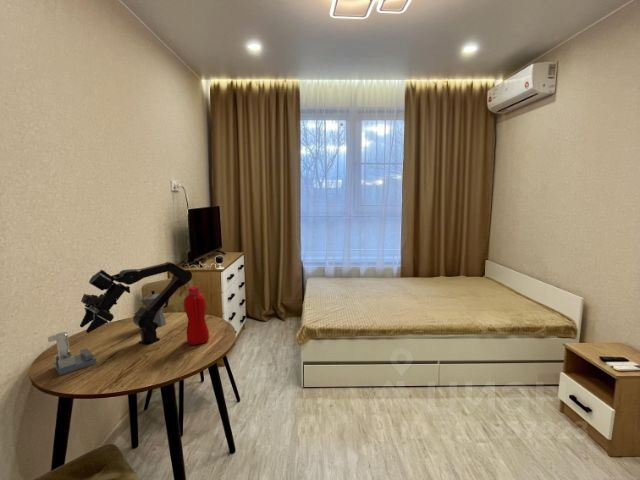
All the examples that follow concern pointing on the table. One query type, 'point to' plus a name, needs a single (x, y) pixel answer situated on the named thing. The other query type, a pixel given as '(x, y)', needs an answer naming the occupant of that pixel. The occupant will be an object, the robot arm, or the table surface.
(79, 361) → the vise
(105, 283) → the robot arm
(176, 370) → the table surface
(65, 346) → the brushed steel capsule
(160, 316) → the coffeepot
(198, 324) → the water bottle
